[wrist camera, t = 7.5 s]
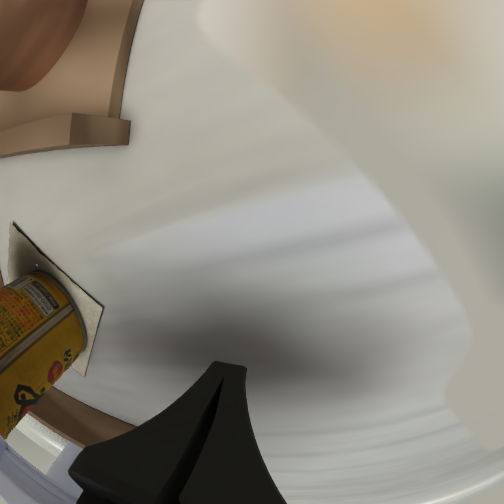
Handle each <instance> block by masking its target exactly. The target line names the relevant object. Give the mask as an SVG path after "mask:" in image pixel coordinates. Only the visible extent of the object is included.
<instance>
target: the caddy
mask: <svg viewBox="0 0 504 504" xmlns="http://www.w3.org/2000/svg"><path fill="white" fill-rule="evenodd" d="M142 3H143V0H0V158H5V157H11V156H16V155H22V154H29V153H36V152H43V151H52V150H60V149H70V148H82V147H96V146H115V145H128V142H129V131H130V121H128V120H122V119H119V115H120V107H121V99H122V93H123V86H124V80H125V74H126V69H127V63H128V58H129V54H130V49H131V44H132V40H133V36H134V32H135V28H136V24H137V20H138V17H139V13H140V10H141V6H142ZM2 287H4V285H3V281H2V277H1V272H0V288H2ZM27 413H28V414H29V415H31V416H32V417H33V418H35V419H36V420H38V421H39V422H40V423H42V424H43V425H45V426H46V427H48V428H49V429H51V430H52V431H54V432H55V433H57V434H59V435H60V436H62V437H63V438H65V439H67V440H68V441H70V442H72V443H73V444H75V445H77V446H79V447H81V448H82V449H84V448H85V447H86V446H90V445H93V444H97V443H100V442H103V441H106V440H109V439H112V438H114V437H117V436H119V435H121V434H123V433H126V432H128V431H130V430H132V429H134V428H136V426H133V425H131V424H128V423H126V422H123V421H121V420H118V419H116V418H114V417H111V416H109V415H107V414H104V413H102V412H100V411H98V410H96V409H94V408H92V407H89V406H87V405H85V404H83V403H81V402H79V401H77V400H76V399H74V398H72V397H70V396H68V395H66V394H64V393H63V392H61V391H59V390H57V389H56V388H54V387H52V386H51V387H50V388H49V389H48V390H47V391H46V392H45V394H44V395H43V396H42V397H41V398H40V399H39V400H38V402H37V404H35V405H33V407H32V408H31V409H30V410H29V411H28V412H27Z"/></svg>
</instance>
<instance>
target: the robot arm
mask: <svg viewBox="0 0 504 504" xmlns="http://www.w3.org/2000/svg"><path fill="white" fill-rule="evenodd" d="M246 373H247V368H246V367H245V366H239V365H234V364H229V363H223V362H218V361H214V362H212V364H211V365H210V366H209V368H208V369H207V370H206V371H205V373H204V374H203V375H202V376H201V377H200V378H199V379H198V380H197V381H196V382H195V383H194V384H193V385H192V386H191V387H190V388H189V389H188V390H187V391H186V392H185V393H184V394H183V395H182V396H181V397H180V398H178V399H177V400H176V401H175V402H174V403H172V404H171V405H170V406H169V407H167V408H166V409H165V410H163V411H162V412H161V413H159V414H158V415H156V416H155V417H153V418H152V419H150V420H148V421H147V422H145V423H143V424H142V425H140V426H138V427H136V428H134V429H132V430H130V431H128V432H126V433H123V434H121V435H119V436H117V437H114V438H112V439H109V440H106V441H103V442H100V443H97V444H93V445H90V446H86V447H85V448H84V449H82V448H81V447H79V446H77V445H75V444H73V443H72V442H70V441H68V440H67V439H66V440H67V442H68V443H67V445H66V446H65V448H64V449H63V451H62V452H61V453H60V455H59V456H58V458H57V459H56V461H55V462H54V463H53V465H52V466H51V468H50V469H49V471H48V472H47V474H46V475H45V474H43V473H42V472H41V471H39V470H38V469H37V468H36V467H34V466H33V465H31V464H30V463H29V462H28V461H27V460H25V459H24V458H23V457H22V456H20V455H19V454H18V453H17V452H16V451H15V450H13V449H12V448H11V447H10V446H9V445H8V443H7V442H6V441H5V440H4V438H3V437H2V436H1V435H0V497H1V498H2V499H3V500H4V501H5V502H6V503H7V504H287V503H286V501H285V500H284V498H283V497H282V495H281V494H280V492H279V490H278V489H277V487H276V485H275V483H274V481H273V480H272V478H271V476H270V474H269V472H268V470H267V467H266V465H265V463H264V461H263V458H262V456H261V454H260V451H259V448H258V445H257V443H256V440H255V436H254V433H253V430H252V426H251V422H250V417H249V412H248V406H247V399H246V388H245V380H246Z"/></svg>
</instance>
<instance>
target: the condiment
mask: <svg viewBox="0 0 504 504" xmlns="http://www.w3.org/2000/svg"><path fill="white" fill-rule="evenodd" d="M9 233H10V237H9V251H8V253H9V259H8V278H7V285H5V286H4V287H2V288H0V435H1V436H2V437H3V438H4V439H7V437H8V434H9V433H10V432H11V430H13V428H14V427H15V426H16V425H17V424H18V423H19V421H20V420H21V419H22V418H23V417H24V416H25V415H26V413H27V412H28V411H29V410H30V409H31V408H32V407H33V405H35V404H37V402H38V400H39V399H40V398H41V397H42V396H43V395H44V394H45V392H46V391H47V390H48V389H49V388H50V387H51V386H52V385H53V384H54V383H55V381H57V380H58V379H59V378H60V377H61V376H62V374H63V373H64V372H65V371H66V370H67V369H68V368H69V367H70V366H72V367H73V368H74V369H76V370H77V371H78V372H79V373H80V374H81V375H82V377H83V378H84V376H85V371H86V368H87V364H88V360H89V357H90V353H91V349H92V345H93V341H94V338H95V334H96V330H97V325H98V322H99V319H100V315H101V312H102V310H103V308H102V307H101V306H100V305H98V304H97V303H96V302H95V301H94V300H93V299H91V298H90V297H89V296H88V295H87V294H86V293H85V292H84V291H83V290H81V289H80V288H79V287H78V286H77V285H76V284H74V283H72V281H71V280H70V279H69V278H68V277H67V276H66V275H65V274H64V273H63V272H61V271H60V270H58V269H57V267H56V266H55V265H53V264H52V263H51V262H50V261H48V259H47V258H45V257H44V256H42V255H41V254H40V253H39V252H38V251H37V249H36V248H35V247H34V246H33V245H32V244H31V243H30V242H29V241H28V239H27V238H26V237H24V236H23V235H22V234H21V233H20V232H18V231H17V230H16V228H15V227H14V226H13V225H12V223H11V222H10V229H9ZM36 264H38V267H37V266H36Z"/></svg>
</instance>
